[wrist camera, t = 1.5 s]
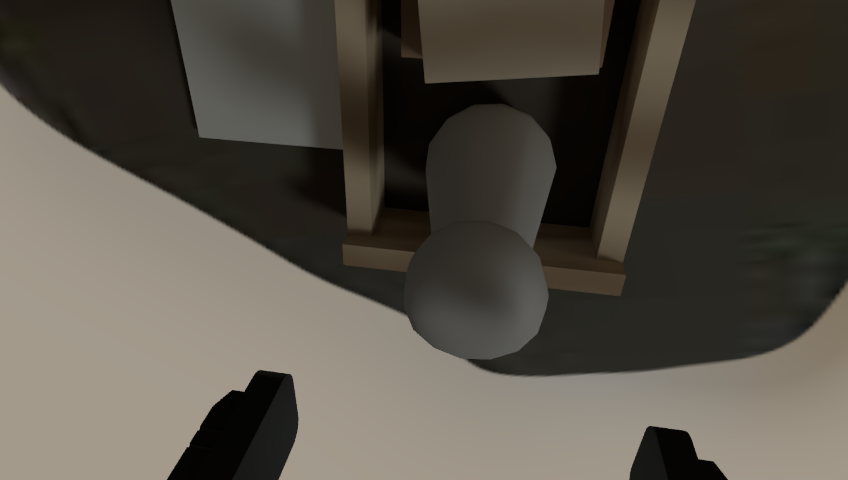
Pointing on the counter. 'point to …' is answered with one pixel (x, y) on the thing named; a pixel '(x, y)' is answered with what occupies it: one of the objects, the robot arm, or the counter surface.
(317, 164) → the counter surface
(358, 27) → the frame
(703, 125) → the counter surface
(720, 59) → the counter surface
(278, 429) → the robot arm
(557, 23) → the offcut top
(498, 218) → the salt shaker
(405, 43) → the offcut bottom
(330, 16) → the coaster
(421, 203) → the counter surface
